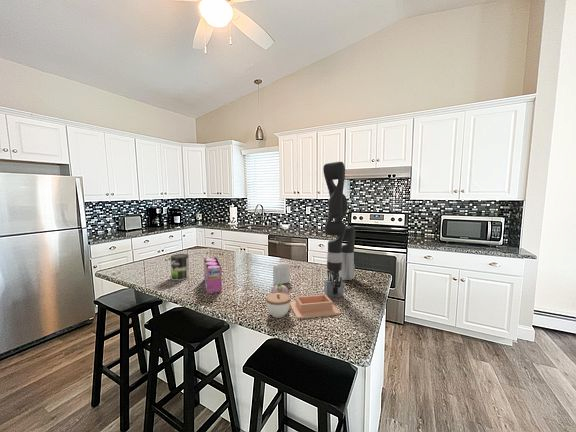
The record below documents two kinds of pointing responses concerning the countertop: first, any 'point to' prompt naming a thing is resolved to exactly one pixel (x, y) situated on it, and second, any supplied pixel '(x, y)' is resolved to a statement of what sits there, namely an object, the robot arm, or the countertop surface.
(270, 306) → the lidded jar
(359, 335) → the countertop surface
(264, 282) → the countertop surface
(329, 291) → the grey rectangular block
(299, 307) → the caddy
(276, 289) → the decorative fruit
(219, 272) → the gum box
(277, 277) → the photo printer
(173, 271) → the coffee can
